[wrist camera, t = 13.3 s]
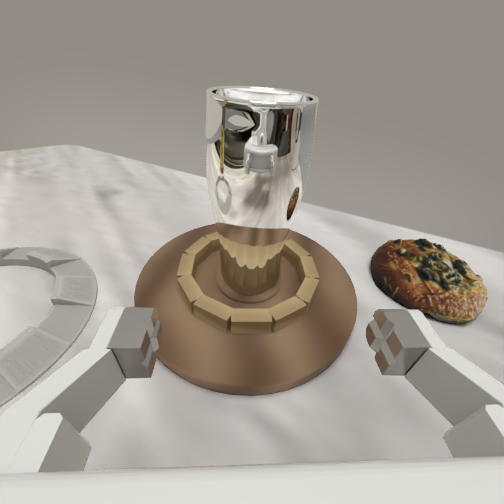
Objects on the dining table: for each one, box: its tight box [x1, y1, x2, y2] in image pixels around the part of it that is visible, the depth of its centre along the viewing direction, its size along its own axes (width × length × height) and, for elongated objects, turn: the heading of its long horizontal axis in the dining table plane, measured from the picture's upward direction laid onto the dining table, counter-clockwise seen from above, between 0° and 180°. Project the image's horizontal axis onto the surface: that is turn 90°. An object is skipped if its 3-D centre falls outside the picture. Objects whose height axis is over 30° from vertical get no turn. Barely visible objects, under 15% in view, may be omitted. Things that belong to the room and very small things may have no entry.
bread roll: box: [371, 239, 488, 324], centre depth 27 cm, size 11×11×5 cm
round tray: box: [134, 224, 357, 395], centre depth 25 cm, size 20×20×3 cm
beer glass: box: [205, 86, 319, 303], centre depth 20 cm, size 7×7×15 cm
